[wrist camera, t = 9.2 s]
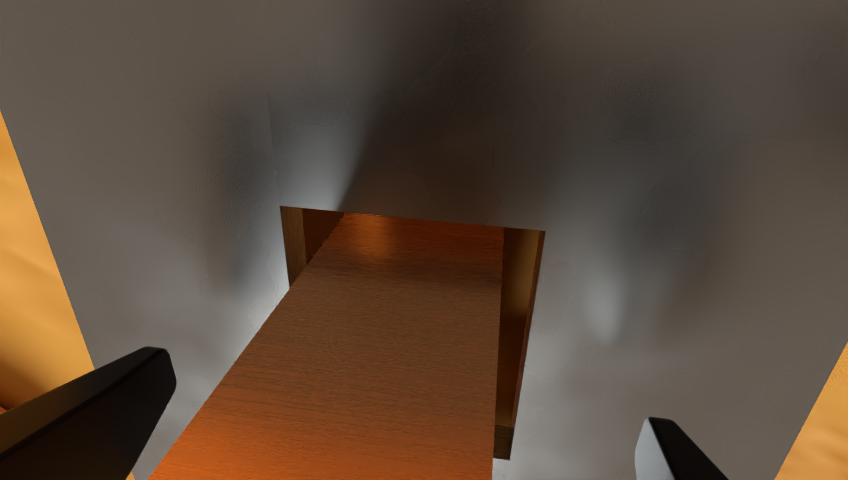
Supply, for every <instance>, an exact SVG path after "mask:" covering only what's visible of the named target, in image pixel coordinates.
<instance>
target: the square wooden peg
mask: <svg viewBox="0 0 848 480" xmlns="http://www.w3.org/2000/svg"><path fill="white" fill-rule="evenodd" d="M503 242H504V227H499V226H488V225H478V224H467V223H457V222H446V221H436V220H425V219H415V218H404V217H393V216H375V215H364V214H353V213H345V215H344V216H343V218H342V219H341V220H340V222H339V223H338V224H337V226H336V227H335V228H334V230H333V231H332V232H331V234H330V235H329V236H328V238H327V239H326V240H325V242H324V243H323V244H322V246H321V247H320V248H319V250H318V251H317V252H316V254H315V255H314V256H313V258H312V259H311V260H310V262H309V263H308V264H307V266H306V267H305V268H304V270H303V271H302V273H301V274H300V275H299V277H298V278H297V279H296V281H295V282H294V283H293V285H292V286H291V287H290V289H289V290H288V291H287V293H286V294H285V295H284V297H283V298H282V299H281V301H280V302H279V303H278V305H277V306H276V307H275V309H274V310H273V311H272V313H271V314H270V315H269V317H268V318H267V319H266V321H265V322H264V324H263V325H262V326H261V328H260V329H259V330H258V332H257V333H256V334H255V336H254V337H253V338H252V340H251V341H250V342H249V344H248V345H247V346H246V348H245V349H244V350H243V352H242V353H241V354H240V356H239V357H238V358H237V360H236V361H235V362H234V364H233V365H232V366H231V368H230V369H229V370H228V372H227V373H226V374H225V376H224V377H223V379H222V380H221V381H220V383H219V384H218V385H217V387H216V388H215V389H214V391H213V392H212V393H211V395H210V396H209V397H208V399H207V400H206V401H205V403H204V404H203V405H202V407H201V408H200V409H199V411H198V412H197V413H196V415H195V416H194V417H193V419H192V420H191V421H190V423H189V424H188V425H187V427H186V428H185V430H184V431H183V432H182V434H181V435H180V436H179V438H178V439H177V440H176V442H175V443H174V444H173V446H172V447H171V448H170V450H169V451H168V452H167V454H166V455H165V456H164V458H163V459H162V460H161V462H160V463H159V464H158V466H157V467H156V468H155V470H154V471H153V472H152V474H151V475H150V476H149V478H148V479H147V480H492V470H493V450H494V429H495V408H496V387H497V366H498V346H499V325H500V304H501V283H502V262H503Z"/></svg>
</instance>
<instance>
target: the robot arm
mask: <svg viewBox="0 0 848 480" xmlns="http://www.w3.org/2000/svg"><path fill="white" fill-rule="evenodd" d="M176 385H177V378H176V374H175V371H174V367H173V363H172V360H171V356H170V353H169V352H168V350H167V349H165V348H159V347H152V346H146V347H143V348H140V349H138V350H136V351H134V352H132V353H130V354H128V355H125V356H123V357H121V358H119V359H117V360H115V361H113V362H110V363H108V364H106V365H104V366H102V367H100V368H98V369H96V370H93V371H91V372H89V373H87V374H85V375H83V376H81V377H78V378H76V379H74V380H72V381H70V382H68V383H66V384H64V385H61V386H59V387H57V388H55V389H53V390H51V391H49V392H46V393H44V394H42V395H40V396H38V397H36V398H34V399H32V400H29V401H27V402H25V403H23V404H21V405H19V406H17V407H14V408H12V409H10V410H8V411H6V412H4V413H2V414H0V480H126V478H127V477H128V475H129V474H130V472H131V471H132V469H133V467H134V466H135V464H136V463H137V461H138V459H139V457H140V456H141V454H142V452H143V450H144V448H145V447H146V445H147V443H148V441H149V439H150V437H151V435H152V433H153V432H154V430H155V428H156V426H157V424H158V422H159V420H160V419H161V417H162V415H163V413H164V411H165V409H166V407H167V405H168V404H169V402H170V400H171V398H172V396H173V394H174V392H175V389H176ZM635 468H636V476H637V480H729V479H728V478H727V477H726V476H725V475H724V474H723V473H722V472H721V470H720V469H719V468H718V467H717V466H716V465H715V464H714V463H713V462H712V461H711V460H710V459H709V458H708V457H707V456H706V454H705V453H704V452H703V451H702V450H701V449H700V448H699V447H698V446H697V445H696V444H695V443H694V442H693V441H692V439H691V438H690V437H689V436H688V435H687V434H686V433H685V432H684V431H683V430H682V429H681V428H680V427H679V426H678V424H677V423H675V422H674V421H673V420H671V419H665V418H658V417H648V418H646V420H645V421H644V424H643V427H642V430H641V433H640V437H639V440H638V443H637V446H636V449H635Z"/></svg>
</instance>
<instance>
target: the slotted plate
mask: <svg viewBox="0 0 848 480" xmlns="http://www.w3.org/2000/svg"><path fill="white" fill-rule="evenodd" d="M0 110H1V113H2V116H3V118H4V121H5V124H6V127H7V129H8V132H9V135H10V138H11V140H12V143H13V146H14V149H15V151H16V154H17V157H18V160H19V162H20V165H21V168H22V171H23V173H24V176H25V179H26V182H27V184H28V187H29V190H30V193H31V195H32V198H33V201H34V204H35V206H36V209H37V212H38V214H39V217H40V220H41V223H42V225H43V228H44V231H45V234H46V236H47V239H48V242H49V245H50V247H51V250H52V253H53V256H54V258H55V261H56V264H57V267H58V269H59V272H60V275H61V278H62V280H63V283H64V286H65V289H66V291H67V294H68V297H69V300H70V302H71V305H72V308H73V311H74V313H75V316H76V319H77V322H78V324H79V327H80V330H81V333H82V335H83V338H84V341H85V343H86V346H87V349H88V352H89V354H90V357H91V360H92V363H93V365H94V368H95V370H96V369H98V368H100V367H102V366H104V365H106V364H108V363H110V362H113V361H115V360H117V359H119V358H121V357H123V356H125V355H128V354H130V353H132V352H134V351H136V350H138V349H140V348H143V347H146V346H152V347H159V348H165V349H167V350H168V352H169V353H170V356H171V360H172V363H173V367H174V371H175V374H176V378H177V385H176V389H175V392H174V394H173V396H172V398H171V400H170V402H169V404H168V405H167V407H166V409H165V411H164V413H163V415H162V417H161V419H160V420H159V422H158V424H157V426H156V428H155V430H154V432H153V433H152V435H151V437H150V439H149V441H148V443H147V445H146V447H145V448H144V450H143V452H142V454H141V456H140V457H139V459H138V461H137V463H136V464H135V466H134V467H133V469H132V473H133V475H134V478H135V480H147V479H148V478H149V476H150V475H151V474H152V472H153V471H154V470H155V468H156V467H157V466H158V464H159V463H160V462H161V460H162V459H163V458H164V456H165V455H166V454H167V452H168V451H169V450H170V448H171V447H172V446H173V444H174V443H175V442H176V440H177V439H178V438H179V436H180V435H181V434H182V432H183V431H184V430H185V428H186V427H187V425H188V424H189V423H190V421H191V420H192V419H193V417H194V416H195V415H196V413H197V412H198V411H199V409H200V408H201V407H202V405H203V404H204V403H205V401H206V400H207V399H208V397H209V396H210V395H211V393H212V392H213V391H214V389H215V388H216V387H217V385H218V384H219V383H220V381H221V380H222V379H223V377H224V376H225V374H226V373H227V372H228V370H229V369H230V368H231V366H232V365H233V364H234V362H235V361H236V360H237V358H238V357H239V356H240V354H241V353H242V352H243V350H244V349H245V348H246V346H247V345H248V344H249V342H250V341H251V340H252V338H253V337H254V336H255V334H256V333H257V332H258V330H259V329H260V328H261V326H262V325H263V324H264V322H265V321H266V319H267V318H268V317H269V315H270V314H271V313H272V311H273V310H274V309H275V307H276V306H277V305H278V303H279V302H280V301H281V299H282V298H283V297H284V295H285V294H286V293H287V291H288V290H289V289H290V287H291V286H292V285H293V283H294V282H295V281H296V279H297V278H298V277H299V275H300V274H301V273H302V271H303V270H304V268H305V267H306V266H307V260H306V249H305V239H304V228H303V218H302V208H309V209H320V210H330V211H341V212H351V213H362V214H372V215H383V216H393V217H404V218H415V219H425V220H436V221H446V222H457V223H467V224H478V225H488V226H499V227H509V228H520V229H530V230H540V233H539V240H538V246H537V253H536V260H535V266H534V273H533V280H532V286H531V293H530V299H529V306H528V313H527V319H526V326H525V333H524V339H523V346H522V352H521V359H520V366H519V372H518V379H517V386H516V392H515V399H514V405H513V412H512V419H511V425H510V427H505V426H499V425H495V429H494V450H493V470H492V480H637V476H636V468H635V449H636V446H637V443H638V440H639V437H640V433H641V430H642V427H643V424H644V421H645V420H646V418H648V417H658V418H665V419H671V420H673V421H674V422H675V423H677V424H678V426H679V427H680V428H681V429H682V430H683V431H684V432H685V433H686V434H687V435H688V436H689V437H690V438H691V439H692V441H693V442H694V443H695V444H696V445H697V446H698V447H699V448H700V449H701V450H702V451H703V452H704V453H705V454H706V456H707V457H708V458H709V459H710V460H711V461H712V462H713V463H714V464H715V465H716V466H717V467H718V468H719V469H720V470H721V472H722V473H723V474H724V475H725V476H726V477H727V478H728V479H729V480H774V479H775V477H776V475H777V473H778V471H779V470H780V468H781V466H782V464H783V462H784V460H785V458H786V456H787V455H788V453H789V451H790V449H791V447H792V445H793V443H794V441H795V440H796V438H797V436H798V434H799V432H800V430H801V428H802V426H803V425H804V423H805V421H806V419H807V417H808V415H809V413H810V411H811V409H812V408H813V406H814V404H815V402H816V400H817V398H818V396H819V394H820V393H821V391H822V389H823V387H824V385H825V383H826V381H827V379H828V378H829V376H830V374H831V372H832V370H833V368H834V366H835V364H836V363H837V361H838V359H839V357H840V355H841V353H842V351H843V349H844V347H845V346H846V344H847V342H848V0H0Z"/></svg>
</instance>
